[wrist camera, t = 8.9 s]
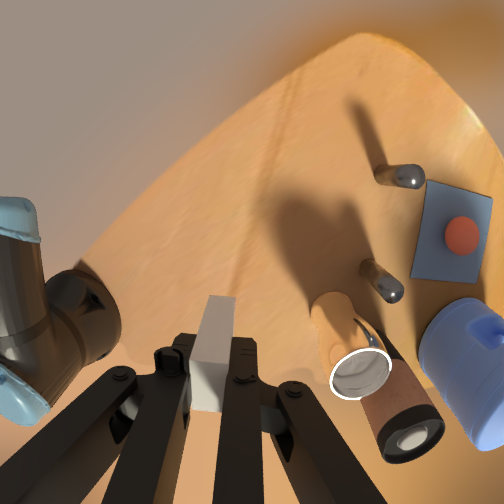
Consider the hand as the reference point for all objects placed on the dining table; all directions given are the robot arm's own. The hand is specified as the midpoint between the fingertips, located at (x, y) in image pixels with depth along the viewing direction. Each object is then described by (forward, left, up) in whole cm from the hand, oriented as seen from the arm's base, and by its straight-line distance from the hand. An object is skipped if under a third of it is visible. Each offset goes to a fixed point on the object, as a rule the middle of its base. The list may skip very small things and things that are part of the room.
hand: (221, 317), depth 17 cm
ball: (+30, +5, -19) cm, 36 cm away
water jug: (+37, -13, -22) cm, 45 cm away
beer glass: (+13, -9, -22) cm, 27 cm away
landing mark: (+31, +4, -22) cm, 38 cm away
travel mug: (+20, -15, -22) cm, 33 cm away
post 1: (+17, +11, -22) cm, 30 cm away
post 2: (+17, -2, -22) cm, 28 cm away
